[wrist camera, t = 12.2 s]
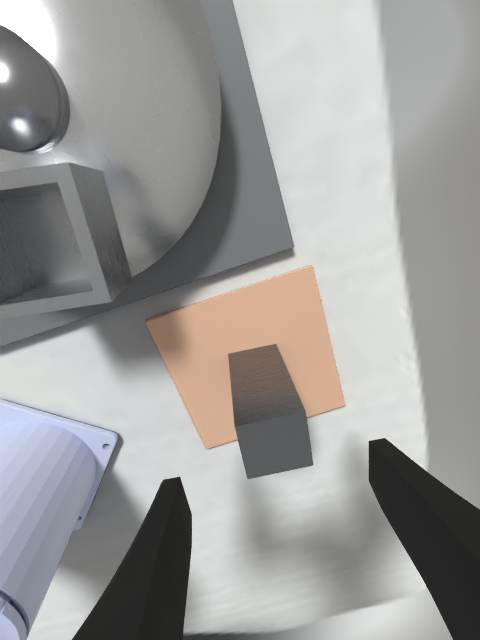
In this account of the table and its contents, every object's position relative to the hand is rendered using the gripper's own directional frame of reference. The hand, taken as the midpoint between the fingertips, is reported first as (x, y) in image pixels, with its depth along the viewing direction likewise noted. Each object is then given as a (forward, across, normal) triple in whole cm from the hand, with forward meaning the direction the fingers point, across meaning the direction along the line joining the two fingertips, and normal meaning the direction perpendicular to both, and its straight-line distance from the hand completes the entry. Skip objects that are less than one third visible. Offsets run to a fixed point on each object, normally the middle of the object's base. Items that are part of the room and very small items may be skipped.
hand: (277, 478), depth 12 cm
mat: (+9, 0, 0) cm, 9 cm away
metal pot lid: (+9, +7, -14) cm, 18 cm away
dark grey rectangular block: (+8, 0, 0) cm, 8 cm away
